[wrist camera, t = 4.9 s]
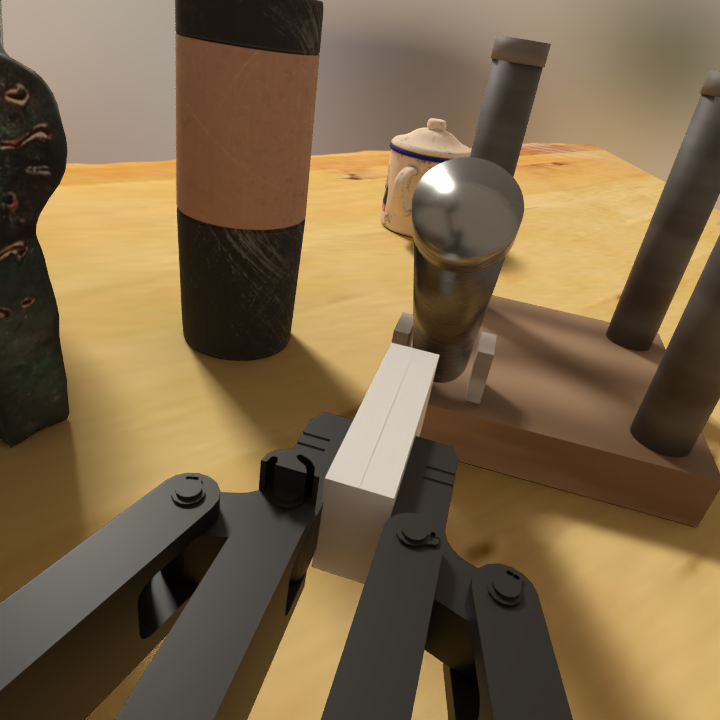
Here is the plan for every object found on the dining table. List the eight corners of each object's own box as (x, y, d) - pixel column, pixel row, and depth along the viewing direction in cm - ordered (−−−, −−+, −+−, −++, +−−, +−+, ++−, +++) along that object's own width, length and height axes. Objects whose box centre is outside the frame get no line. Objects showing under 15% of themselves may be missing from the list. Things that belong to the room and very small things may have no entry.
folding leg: (418, 321, 32) (427, 148, 17) (476, 335, 31) (534, 168, 17) (403, 376, 31) (399, 241, 17) (463, 391, 31) (510, 266, 16)
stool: (421, 315, 46) (482, 33, 37) (642, 368, 44) (772, 80, 34) (370, 436, 32) (448, 23, 22) (696, 527, 29) (950, 104, 19)
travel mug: (299, 316, 43) (330, 4, 33) (286, 370, 37) (320, -1, 27) (195, 303, 43) (195, -19, 33) (163, 354, 36) (151, -29, 26)
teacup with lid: (398, 209, 72) (416, 109, 66) (466, 230, 69) (491, 126, 63) (350, 229, 63) (366, 114, 57) (427, 254, 60) (452, 134, 54)
